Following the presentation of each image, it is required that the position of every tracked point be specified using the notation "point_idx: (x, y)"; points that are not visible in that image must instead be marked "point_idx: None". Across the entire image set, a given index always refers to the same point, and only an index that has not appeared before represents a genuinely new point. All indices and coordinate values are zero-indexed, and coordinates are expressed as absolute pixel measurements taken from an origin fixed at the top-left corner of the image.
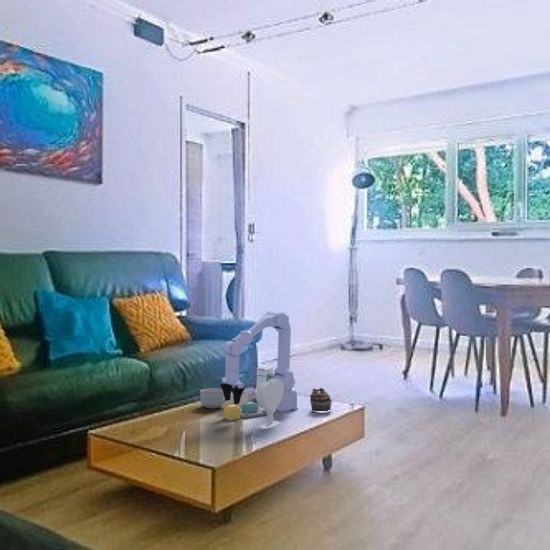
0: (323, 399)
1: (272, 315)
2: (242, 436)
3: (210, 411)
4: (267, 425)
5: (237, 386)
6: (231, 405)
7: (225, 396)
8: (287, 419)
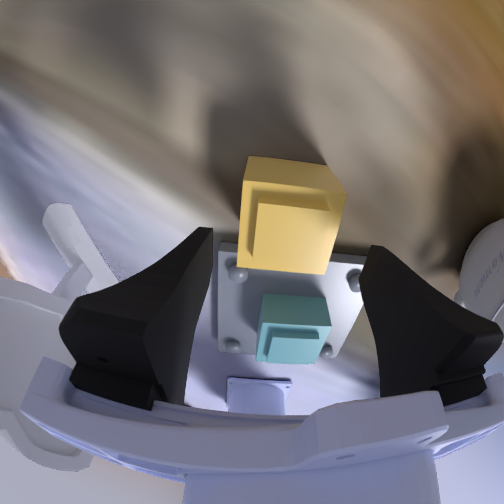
0: None
1: None
2: (4, 90)
3: (463, 200)
4: (60, 243)
5: (105, 397)
6: (300, 239)
7: (387, 267)
8: None
